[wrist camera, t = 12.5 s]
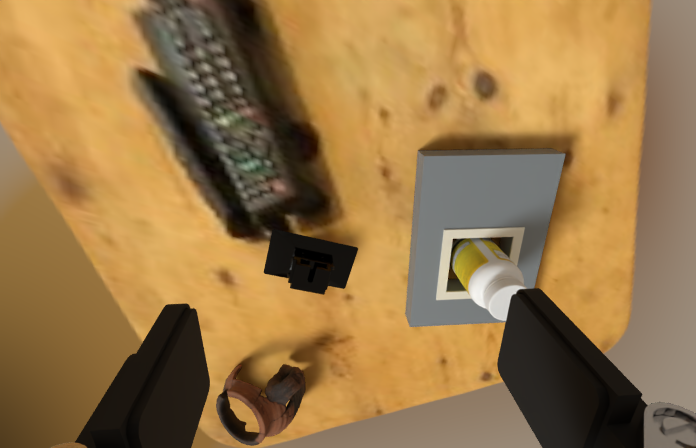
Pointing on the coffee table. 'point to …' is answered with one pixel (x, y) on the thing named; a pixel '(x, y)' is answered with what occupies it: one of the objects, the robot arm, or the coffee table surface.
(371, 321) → the coffee table surface
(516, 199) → the board
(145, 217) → the coffee table surface
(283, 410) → the pottery mug
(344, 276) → the black stand
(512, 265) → the supplement bottle
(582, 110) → the coffee table surface
